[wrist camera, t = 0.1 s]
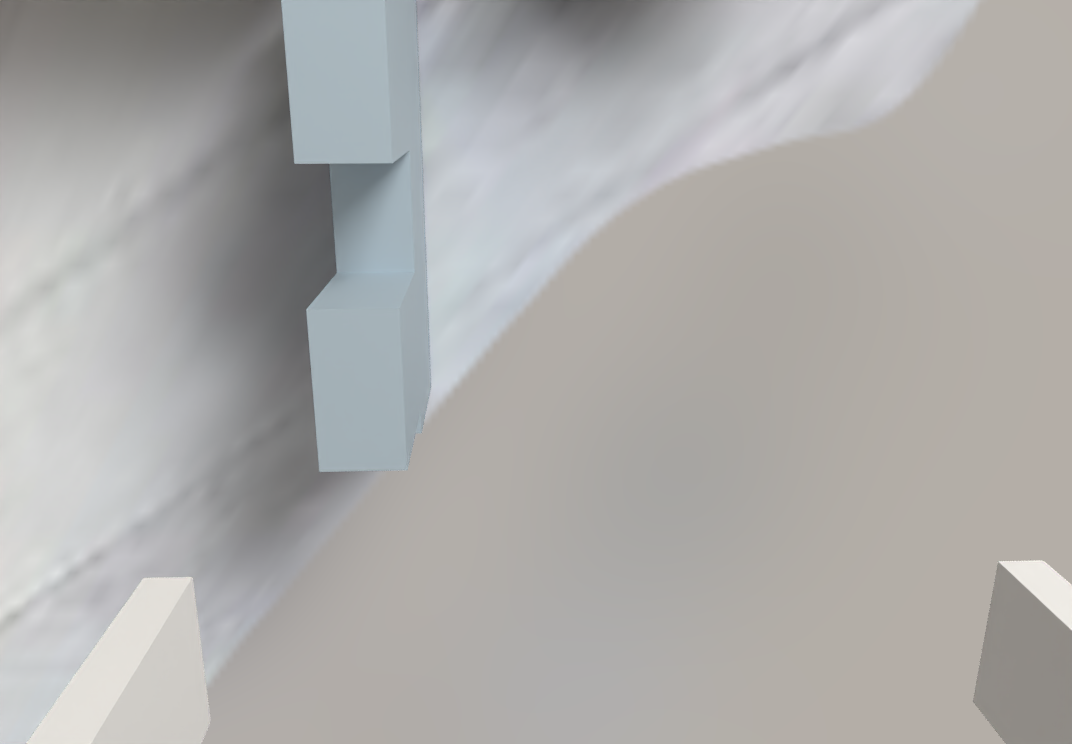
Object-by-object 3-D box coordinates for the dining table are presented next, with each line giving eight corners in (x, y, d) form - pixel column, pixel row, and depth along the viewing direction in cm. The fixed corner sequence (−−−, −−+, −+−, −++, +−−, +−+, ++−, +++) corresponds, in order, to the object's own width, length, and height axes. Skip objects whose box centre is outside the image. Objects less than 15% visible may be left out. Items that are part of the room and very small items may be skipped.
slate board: (341, -27, 37) (274, -78, 26) (415, -27, 37) (380, -77, 26) (367, 387, 42) (321, 498, 31) (431, 386, 43) (408, 496, 31)
